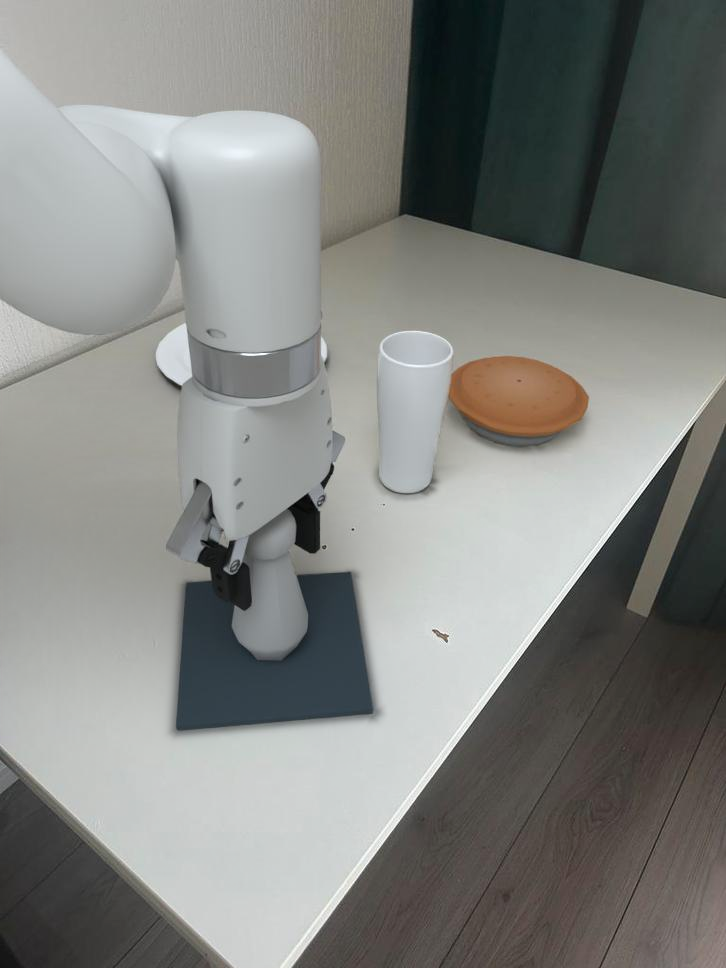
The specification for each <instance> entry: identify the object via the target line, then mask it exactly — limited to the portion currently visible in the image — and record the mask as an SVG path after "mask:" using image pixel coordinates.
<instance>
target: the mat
mask: <svg viewBox="0 0 726 968" xmlns="http://www.w3.org/2000/svg"><path fill="white" fill-rule="evenodd" d="M296 576H297V579H298V582H299V586H300V589H301V592H302V596H303V599H304V602H305V606H306V609H307V612H308V627H307V632H306V634H305V635H304V637H303V638H302V640H301V641H300V643H299V644H298V646H297V647H296V648H295V649H294V650H293V651H291V652H290V653H289V654H288V655H287V656H286V657H285V658H284V659H282V660H281V661H279V660H257V659H256V658H255V656H254V655H253V654H252V653H251V652H250V651H249V650H248V649H246V648H245V647H244V646H243V645H242V644H240V643H239V642H238V640H237V637H236V635H235V633H234V631H233V628H232V620H233V613H234V607H235V605H234V604H232V603H231V602H224V601H223V600H221V599H220V598H219V597H217V596H216V594H215V593H214V591H213V588H212V580H202V581H188V582H187V581H186V582H185V593H184V605H183V607H184V608H183V620H182V621H183V623H182V635H181V648H180V665H179V666H180V667H179V675H178V676H179V677H178V678H179V679H178V692H177V705H176V724H175V728H176V731H187V730H188V731H189V730H197V729H198V730H200V729H209V728H222V727H231V726H233V727H234V726H243V725H245V726H246V725H256V724H268V723H277V722H279V723H280V722H290V721H291V722H292V721H301V720H302V721H303V720H314V719H322V718H325V719H326V718H333V717H334V718H335V717H346V716H347V717H348V716H356V715H357V716H358V715H370V714H373V712H374V711H373V710H374V709H373V702H372V696H371V695H372V694H371V689H370V683H369V676H368V671H367V664H366V658H365V652H364V646H363V639H362V633H361V627H360V620H359V615H358V614H359V613H358V608H357V601H356V596H355V588H354V584H353V577H352V572H351V571H342V572H327V573H312V574H310V573H309V574H296Z"/></svg>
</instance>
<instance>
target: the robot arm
mask: <svg viewBox="0 0 726 968" xmlns="http://www.w3.org/2000/svg"><path fill="white" fill-rule="evenodd" d="M322 174H323V173H322V153H321V150H320V146H319V143H318V140H317V138H316V137H315V135H314V134H313V132H312V130H311V129H310V128H309V127H308V126H306V125H305V124H304V123H303V122H301V121H299V120H297V119H295V118H292V117H290V116H287V115H283V114H280V113H275V112H269V111H260V110H249V109H248V110H246V109H245V110H242V109H237V110H235V109H234V110H219V111H214V112H208V113H204V114H201V115H197V116H183V115H173V114H166V113H156V112H148V111H141V110H135V109H128V108H121V107H116V106H115V107H114V106H108V105H97V104H68V105H64V106H59V107H57V106H56V105H55V104H54V103H53V102H52V101H51V100H50V99H49V98H48V97H47V96H46V95H45V94H44V93H43V92H42V91H41V90H40V89H39V88H38V86H36V85H35V83H34V82H33V81H32V80H31V79H30V78H29V77H28V76H27V75H26V74H25V72H23V71H22V69H21V68H19V66H18V65H17V64H16V63H15V62H14V61H13V60H12V58H11V57H10V56H9V55H8V54H7V53H6V51H4V49H3V48H2V47H1V46H0V300H1V301H2V302H3V303H6V305H9V306H10V307H12V308H13V309H15V310H16V311H18V312H20V313H22V314H23V315H25V316H27V317H29V318H31V319H33V320H34V321H37V322H39V323H41V324H43V325H45V326H48V327H50V328H54V329H55V330H58V331H59V330H60V331H62V332H66V333H71V334H77V335H83V336H104V335H109V334H114V333H118V332H123V331H125V330H126V329H127V330H128V329H129V328H132V327H135V326H137V324H139V323H140V322H142V321H143V320H145V319H147V317H149V316H150V315H151V314H152V312H153V311H155V309H157V307H158V306H159V305H160V304H161V302H162V300H164V297H165V296H166V294H167V292H168V291H169V289H170V287H171V283H172V280H173V278H174V277H173V276H174V273H175V268H176V262H177V263H178V267H179V275H180V285H181V293H182V301H183V310H184V317H185V318H184V319H185V323H186V327H187V335H188V343H189V352H190V360H191V370H192V377H191V378H190V379H188V380H187V381H185V382H184V383H183V384H182V387H181V390H180V396H179V402H178V412H177V425H176V427H177V428H176V429H177V430H176V451H177V452H176V454H177V471H178V472H177V474H178V486H179V495H180V501H181V502H180V503H181V508H182V514H181V515H180V518H179V519H178V521H177V523H176V525H175V527H174V528H173V530H172V532H171V534H170V536H169V537H168V540H167V541H166V544H165V549H166V551H168V552H169V553H171V554H172V555H174V556H175V557H177V558H178V559H180V560H181V561H185V562H188V563H192V564H199V565H201V566H203V567H205V568H209V572H210V578H211V580H210V581H212V588H213V591H214V593H215V594H216V596H217V597H219V598H220V599H221V600H223V601H224V602H231V603H232V604H234V605H235V606H237V607H238V608H240V609H241V610H243V611H246V610H247V609H248V608H249V607H251V603H252V595H251V582H250V570H249V567H248V565H247V564H245V563H244V562H242V560H243V557H244V553H245V549H246V546H247V542H248V538H249V535H250V534H252V533H253V532H255V531H256V530H258V529H259V528H261V527H262V526H263V525H265V524H266V523H268V522H269V521H270V520H272V519H273V518H275V517H276V516H277V515H279V514H280V513H281V512H283V511H284V510H286V509H288V510H290V512H291V513H292V515H293V517H294V518H295V522H296V538H295V543H294V546H296V547H298V548H299V549H301V550H303V551H304V552H307V553H308V554H310V555H315V554H317V553H318V552H320V550H321V511H320V509H321V508H322V507H323V506H324V505H325V504H326V501H327V497H328V496H327V492H326V491H325V489H326V487H327V485H328V483H329V481H330V479H331V477H332V476H333V474H334V471H335V465H334V463H336V462H337V460H338V458H339V455H340V454H341V451H342V449H343V448H344V446H345V444H346V437H345V436H344V435H342V434H340V433H338V432H337V431H335V430H333V414H332V402H331V401H332V399H331V394H330V393H331V392H330V385H329V380H328V375H327V369H326V364H325V363H324V360H323V357H322V356H321V336H322V319H323V312H322ZM222 534H224V537H225V539H226V540H227V541H228V544H227V547H226V546H224V545H223V544H221V543H220V542H221V538H222Z"/></svg>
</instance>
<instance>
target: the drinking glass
mask: <svg viewBox="0 0 726 968" xmlns="http://www.w3.org/2000/svg"><path fill="white" fill-rule="evenodd" d="M378 348H379V349H378V358H377V365H376V366H377V368H376V403H377V404H376V409H377V427H378V451H379V453H378V454H379V455H378V456H379V463H378V477H379V480H380V482H381V483H382V485H383V486H384V487H386V488H387V489H389V490H391V491H393V492H395V493H399V494H415V493H418V492H421V491H423V490H424V489H426V488H427V487H428V486H429V485H430V483H431V481H432V478H433V471H434V464H435V459H436V454H437V449H438V446H439V441H440V436H441V433H442V432H441V431H442V427H443V422H444V419H445V414H446V409H447V405H448V401H449V391H450V384H451V377H452V373H453V367H454V366H453V364H454V348H453V345H452V344H451V343H450V341H448V340H447V339H445V338H443V337H442V336H440V335H438V334H435V333H432V332H429V331H422V330H403V331H397V332H394V333H391V334H389V335H387V336H386V337H384V338H383V339H382V340H381V341H380V343H379V347H378Z"/></svg>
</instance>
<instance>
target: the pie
mask: <svg viewBox="0 0 726 968" xmlns="http://www.w3.org/2000/svg"><path fill="white" fill-rule="evenodd" d="M589 399H590V396H589V394H588V393H587V391H586V390H585V389H584V386H582V385H581V384H580V383H579V382H578V381H577V380H576V379H575V378H574V377H573V376H572V375H569V374H568V373H566V372H565V371H563V370H561V369H559V368H557V367H555V366H553V365H551V364H549V363H546V362H544V361H540V360H538V359H533V358H529V357H524V356H512V355H501V356H490V357H483V358H479V359H474V360H470V361H468V362H467V363H465V364H463V365H460V366H459V367H458V368H456V369H455V370H454V371H452V377H451V384H450V391H449V396H448V400H450V402H451V403H452V404H453V405H454V406H455V408H456V410H457V411H458V413H459V414H460V416H461V418H462V420H463V421H464V423H465V424H466V425H467V426H468V427H469V430H471V431H473V432H474V433H475V434H476V435H478V436H479V437H481V438H482V439H485V440H488V441H490V442H493V443H494V444H495V443H496V444H499V445H504V446H507V447H508V446H510V447H518V448H519V447H521V448H524V447H526V448H527V447H534V446H539V445H543V444H546V443H549V442H551V441H552V440H554V439H555V438H557V437H558V436H559V435H562V433H563V432H564V431H566V430H567V429H569V428H570V427H571V426H573V425H575V424H576V423H578V422H580V421H581V420H582V419H583V418H584V416H585V415H586V412H587V410H588V407H589Z"/></svg>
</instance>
